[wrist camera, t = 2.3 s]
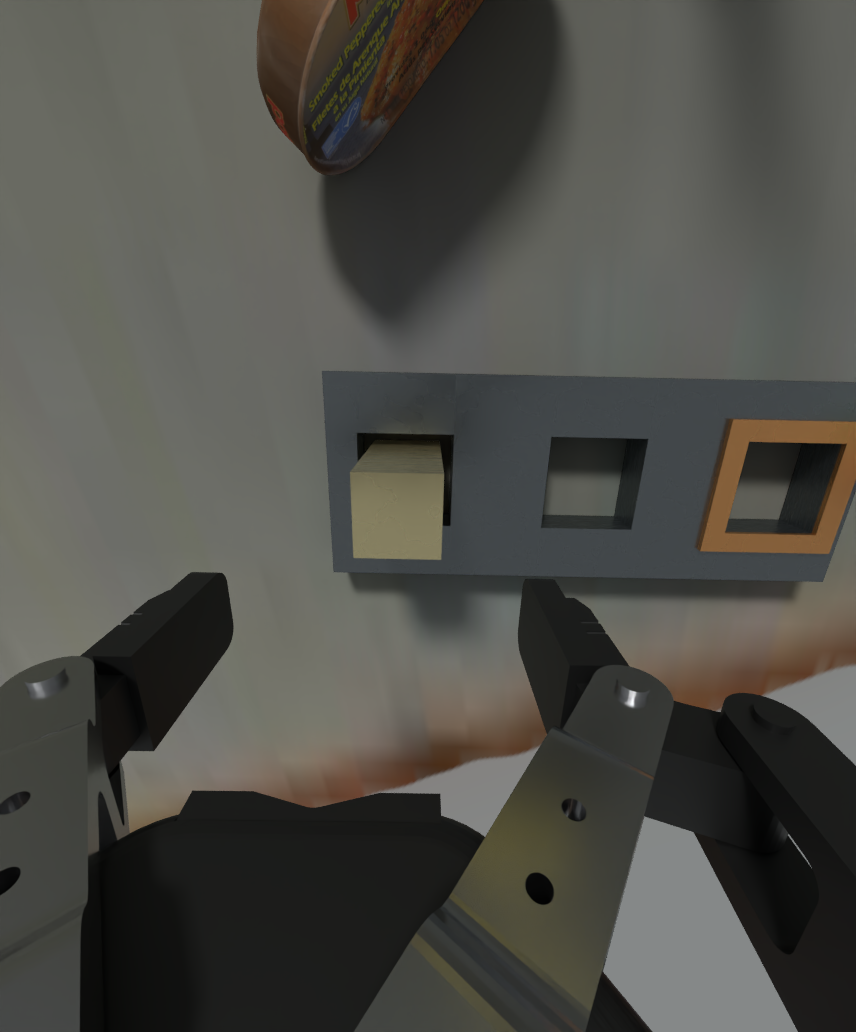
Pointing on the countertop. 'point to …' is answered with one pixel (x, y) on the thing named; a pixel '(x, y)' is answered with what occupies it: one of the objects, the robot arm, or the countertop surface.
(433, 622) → the countertop surface
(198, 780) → the countertop surface
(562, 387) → the grey flat rectangular block
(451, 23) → the tin
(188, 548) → the countertop surface
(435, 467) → the peg
